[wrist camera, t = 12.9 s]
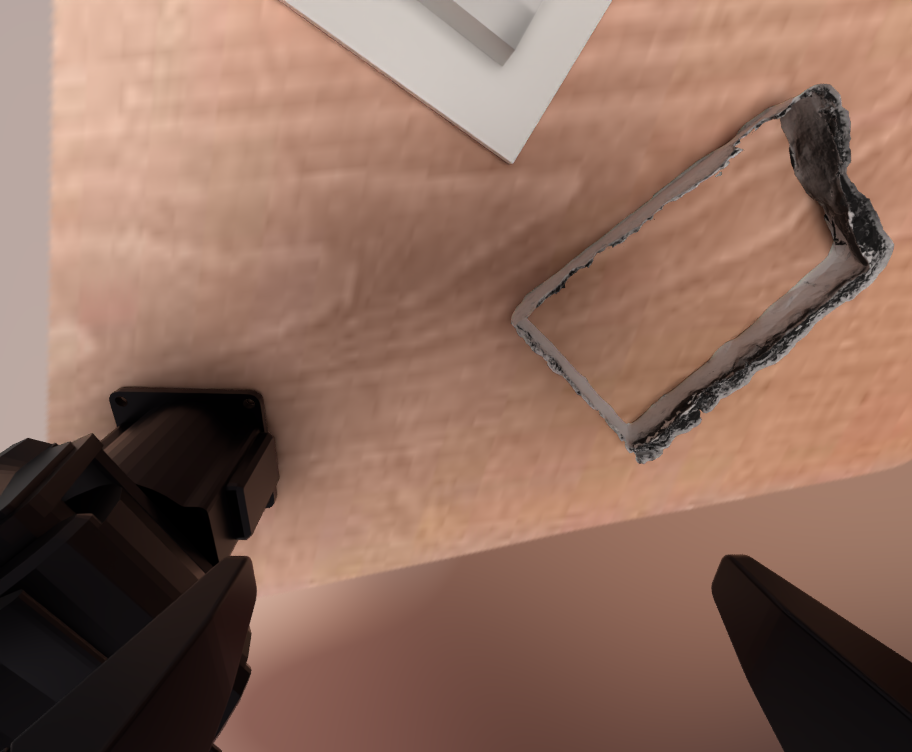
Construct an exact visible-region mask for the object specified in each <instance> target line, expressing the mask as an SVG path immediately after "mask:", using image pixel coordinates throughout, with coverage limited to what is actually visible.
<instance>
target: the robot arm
mask: <svg viewBox="0 0 912 752" xmlns="http://www.w3.org/2000/svg"><path fill="white" fill-rule="evenodd" d="M121 397H124V398H125V399H126V400H127V402H125V401H123V400H122V399H121ZM246 399H251V400H253V401H254V403H255V404H254V405H252V404H249V403H248V402H247V400H246ZM109 401H110V405H111V408H112V411H113V415H114V418H115V421H116V425H117V428H115V429H114V430H113V431H112V432H111V433H110V434H108V435H107V436H106V437H105V438H104V439H102V440H101V441H99V440H98V439H97V438H96V436H95V435H94V434H93V433H91V434H89V435H87V436H84V437H82V438H80V439H78V440H76V441H73V442H71V441H70V442H67V443H64V444H61V445H58V444H57V443H54V444H50V443H46V442H42V441H38V440H34V439H30V438H27V439H25V440H22V441H20V442H18V443H16V444H14V445H12V446H10V447H9V448H7V449H6V450H5V451H3V452H1V453H0V752H222V750H221V749H220V748H218V747H217V746H216V745H215V744H213V743H214V742H215V740H216V738H217V737H218V736H219V735H220V733H221V731H222V730H223V728H224V727H225V725H226V723H227V721H228V720H229V718H230V716H231V715H232V713H233V711H234V710H235V708H236V706H237V705H238V703H239V701H240V699H241V697H242V694H243V692H244V690H245V688H246V685H247V683H248V681H249V678H250V675H251V667H250V666H249V665H248V664H247V663H246V662H247V659H248V654H249V647H250V640H251V630H250V626H249V624H250V620H251V617H252V613H253V609H254V605H255V601H256V595H257V587H256V581H255V576H254V570H253V565H252V561H251V559H250V557H248V556H230V555H231V553H232V551H233V549H234V547H235V545H236V543H237V541H238V540H247V539H248V538H249V537H250V536H251V535H252V534H253V532H254V530H255V528H256V526H257V524H258V522H259V520H260V518H261V516H262V514H263V512H264V509H265V508H270V507H272V506H273V504H274V503H275V501H276V498H277V493H276V484H277V482H278V480H279V471H278V464H277V456H276V449H275V442H274V437H273V436H272V434H271V433H270V432H268V430H267V423H266V415H265V408H264V401H263V398H262V396H261V395H260V394H259V393H258V392H256V391H253V390H225V389H177V388H128V387H123V388H119V389H118V390H116V391H115V392H113V393H112V394H111V395H110V397H109ZM712 595H713V598H714V601H715V603H716V606H717V608H718V610H719V613H720V615H721V618H722V620H723V623H724V625H725V627H726V630H727V632H728V635H729V637H730V640H731V642H732V645H733V647H734V649H735V652H736V654H737V657H738V659H739V662H740V664H741V666H742V669H743V671H744V673H745V675H746V678H747V680H748V682H749V684H750V686H751V688H752V690H753V692H754V694H755V696H756V698H757V700H758V702H759V704H760V706H761V708H762V710H763V712H764V714H765V715H766V717H767V719H768V721H769V723H770V725H771V727H772V729H773V731H774V733H775V735H776V737H777V739H778V741H779V743H780V744H781V746H782V748H783V750H784V752H912V662H910V661H909V660H907V659H905V658H904V657H903V656H901V655H899V654H898V653H896V652H895V651H893V650H892V649H890V648H889V647H887V646H885V645H884V644H883V643H881V642H880V641H878V640H877V639H875V638H873V637H872V636H870V635H869V634H867V633H866V632H864V631H863V630H861V629H859V628H858V627H857V626H855V625H853V624H852V623H851V622H849V621H848V620H846V619H844V618H843V617H841V616H840V615H838V614H837V613H835V612H834V611H832V610H831V609H829V608H828V607H826V606H824V605H823V604H822V603H820V602H819V601H817V600H816V599H814V598H812V597H811V596H809V595H808V594H806V593H805V592H803V591H802V590H800V589H799V588H797V587H796V586H794V585H793V584H791V583H790V582H788V581H787V580H785V579H783V578H782V577H780V576H779V575H777V574H776V573H774V572H773V571H771V570H770V569H768V568H767V567H765V566H764V565H762V564H760V563H759V562H758V561H756V560H754V559H753V558H751V557H750V556H747V555H725V556H724V557H723V558H722V560H721V562H720V564H719V567H718V569H717V572H716V574H715V577H714V580H713V582H712Z"/></svg>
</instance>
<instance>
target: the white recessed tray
mask: <svg viewBox="0 0 912 752" xmlns="http://www.w3.org/2000/svg"><path fill="white" fill-rule="evenodd" d="M279 1H281V2H282V3H284V4H285V5H286V6H288V7H289V8H291V9H292V10H293V11H295V12H296V13H298V14H299V15H301V16H302V17H303V18H305V19H306V20H308V21H309V22H310V23H312V24H313V25H315V26H316V27H317V28H319V29H320V30H322V31H323V32H324V33H326V34H327V35H329V36H330V37H331V38H333V39H334V40H336V41H337V42H338V43H340V44H341V45H343V46H344V47H345V48H347V49H348V50H350V51H351V52H352V53H354V54H355V55H357V56H358V57H359V58H361V59H362V60H364V61H365V62H366V63H368V64H369V65H371V66H372V67H374V68H375V69H376V70H378V71H379V72H381V73H382V74H383V75H385V76H386V77H388V78H389V79H390V80H392V81H393V82H395V83H396V84H397V85H399V86H400V87H402V88H403V89H404V90H406V91H407V92H409V93H410V94H411V95H413V96H414V97H416V98H417V99H418V100H420V101H421V102H423V103H424V104H425V105H427V106H428V107H430V108H431V109H432V110H434V111H435V112H437V113H438V114H440V115H441V116H442V117H444V118H445V119H447V120H448V121H449V122H451V123H452V124H454V125H455V126H456V127H458V128H459V129H461V130H462V131H463V132H465V133H466V134H468V135H469V136H470V137H472V138H473V139H475V140H476V141H477V142H479V143H480V144H482V145H483V146H484V147H486V148H487V149H489V150H490V151H491V152H493V153H494V154H496V155H497V156H498V157H500V158H501V159H503V160H504V161H506V162H507V163H508V164H513V163H514V161H515V159H516V158H517V156H518V154H519V153H520V151H521V150H522V148H523V146H524V145H525V143H526V141H527V140H528V138H529V136H530V135H531V133H532V131H533V130H534V128H535V126H536V125H537V123H538V122H539V120H540V118H541V117H542V115H543V113H544V112H545V110H546V108H547V107H548V105H549V103H550V102H551V100H552V99H553V97H554V95H555V94H556V92H557V90H558V89H559V87H560V85H561V84H562V82H563V80H564V79H565V77H566V75H567V74H568V72H569V71H570V69H571V67H572V66H573V64H574V62H575V61H576V59H577V57H578V56H579V54H580V52H581V51H582V49H583V47H584V46H585V44H586V43H587V41H588V39H589V38H590V36H591V34H592V33H593V31H594V29H595V28H596V26H597V24H598V23H599V21H600V19H601V18H602V16H603V15H604V13H605V11H606V10H607V8H608V6H609V5H610V3H611V1H612V0H279Z"/></svg>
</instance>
